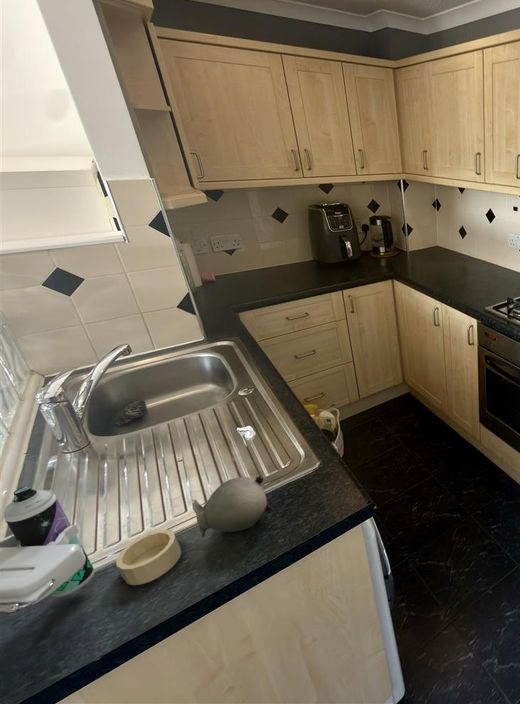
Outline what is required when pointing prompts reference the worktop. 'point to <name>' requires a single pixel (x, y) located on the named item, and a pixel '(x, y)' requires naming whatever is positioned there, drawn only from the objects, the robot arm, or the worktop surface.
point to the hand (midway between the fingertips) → (51, 529)
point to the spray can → (43, 529)
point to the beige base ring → (148, 557)
